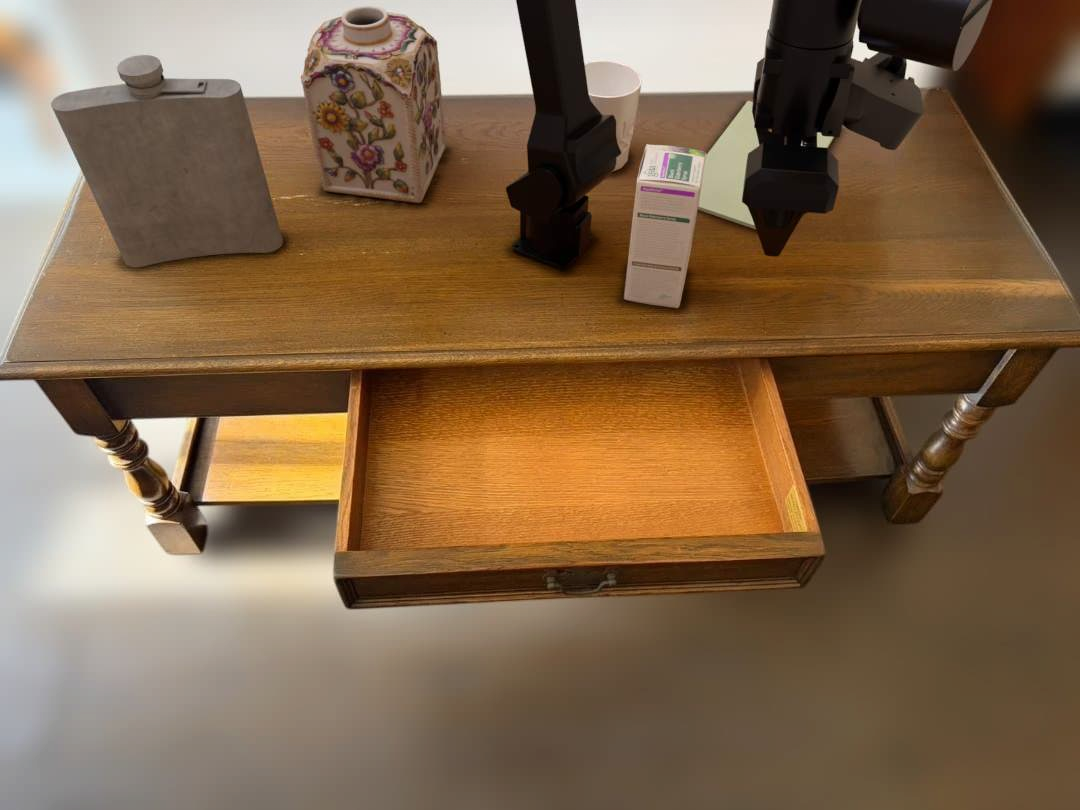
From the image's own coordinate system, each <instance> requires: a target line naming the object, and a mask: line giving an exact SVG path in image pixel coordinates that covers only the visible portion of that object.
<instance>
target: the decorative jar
mask: <svg viewBox="0 0 1080 810" xmlns="http://www.w3.org/2000/svg"><path fill="white" fill-rule="evenodd" d="M300 79H301V81H300V82H301V84H302V90H303V91H302V92H303V95H304V101H305V107H306V113H307V119H308V123H309V129H310V135H311V139H312V144H313V149H314V153H315V158H316V163H317V166H318V171H319V176H320V179H321V185H322V189H323V191H325V192H330V193H337V194H347V195H351V196H352V195H353V196H359V197H360V196H362V197H370V198H376V199H377V198H378V199H384V200H392V201H400V202H407V203H415V204H420V203H422V202H423V200H424V198H425V196H426V193H427V191H428V189H429V187H430V184H431V182H432V180H433V177H434V175H435V173H436V170H437V168H438V165H439V163H440V160H441V158H442V156H443V153H444V151H445V149H446V129H445V118H444V117H445V116H444V105H443V95H442V82H441V72H440V62H439V50H438V40H436V38H435V37H434V36H433V35H431V34H430V33H429V32H428V31H427V30H426V29H425V27H423V26H421V25H419V24H418V23H416V22H415V21H414V20H412V19H411V18H409V17H408V16H407V15H406V14H403V13H396V12H395V13H394V12H388V11H387V10H386V9H384V8H382V7H379V6H371V5H362V6H357V7H353V8H350V9H349V10H347V11H345V12H343V14H342V15H341V16H338V17H335V18H331V19H329V20H326V21H324V22H322V24H321V25H320V26H319V27H318V28H317V29H316V30H315V32H314V33H313V34H312V37H311V39H310V41H309V45H308V48H307V55H306V57H305V59H304V65H303V72H302V74H301V75H300Z"/></svg>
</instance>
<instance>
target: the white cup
mask: <svg viewBox="0 0 1080 810" xmlns="http://www.w3.org/2000/svg"><path fill="white" fill-rule="evenodd" d="M584 65H585V72H586V79H587V86H588V93H589V97H590V100H591V101H592V103H593V104H594V105H595V106H596V108H597V109H598V110H599V111H600V112H601V114H602V115H613V116H614V117H615V119H616V138H617V142H618V146H619V148H620V150H621V154H620V155H619V156H618V157H617V158H616V166H615V169H614V170H613V171H612V173H614V172H615V171H618V170H620V169H622V168H623V167H624V166H625V165H626V164H627V163H628V159H629V154H630V147H631V141H632V139H633V135H634V131H635V130H634V129H635V125H636V119H637V113H638V107H639V102H640V95H641V90H642V85H643V84H642V83H643V79H642V76H641V74H640V72H639V71H638V70H637V69H635V68H634V67H632V66H631V65H628V64H626V63H623V62H619V61H616V60H615V61H614V60H606V59H605V60H603V59H602V60H600V59H599V60H592V61H588V62H584Z"/></svg>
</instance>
